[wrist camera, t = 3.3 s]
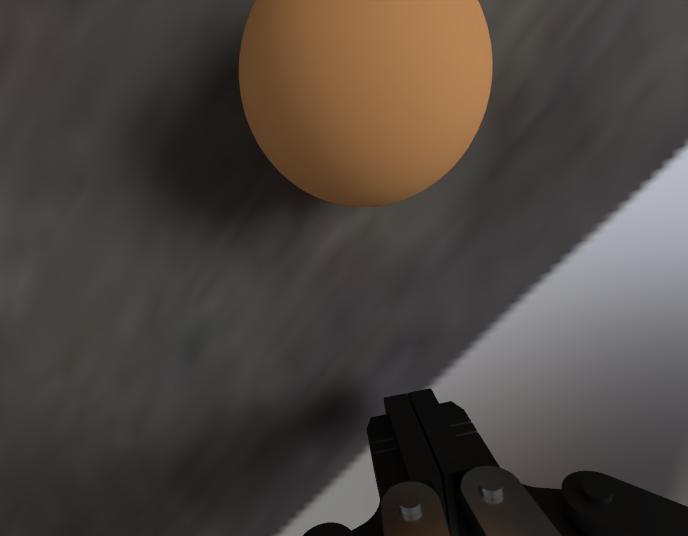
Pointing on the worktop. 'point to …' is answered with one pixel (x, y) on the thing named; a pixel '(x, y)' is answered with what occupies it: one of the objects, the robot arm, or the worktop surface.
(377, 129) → the ball
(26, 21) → the worktop surface
